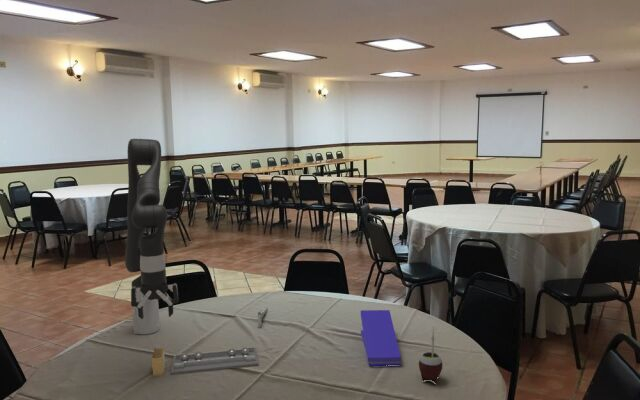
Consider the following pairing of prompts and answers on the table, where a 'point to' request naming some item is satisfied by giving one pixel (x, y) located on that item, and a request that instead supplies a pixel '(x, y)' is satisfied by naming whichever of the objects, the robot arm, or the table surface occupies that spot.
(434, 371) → the mate gourd
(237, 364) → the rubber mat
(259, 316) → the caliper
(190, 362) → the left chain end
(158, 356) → the tall wooden block
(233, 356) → the grey studded track end
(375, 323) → the stapler
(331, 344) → the table surface
